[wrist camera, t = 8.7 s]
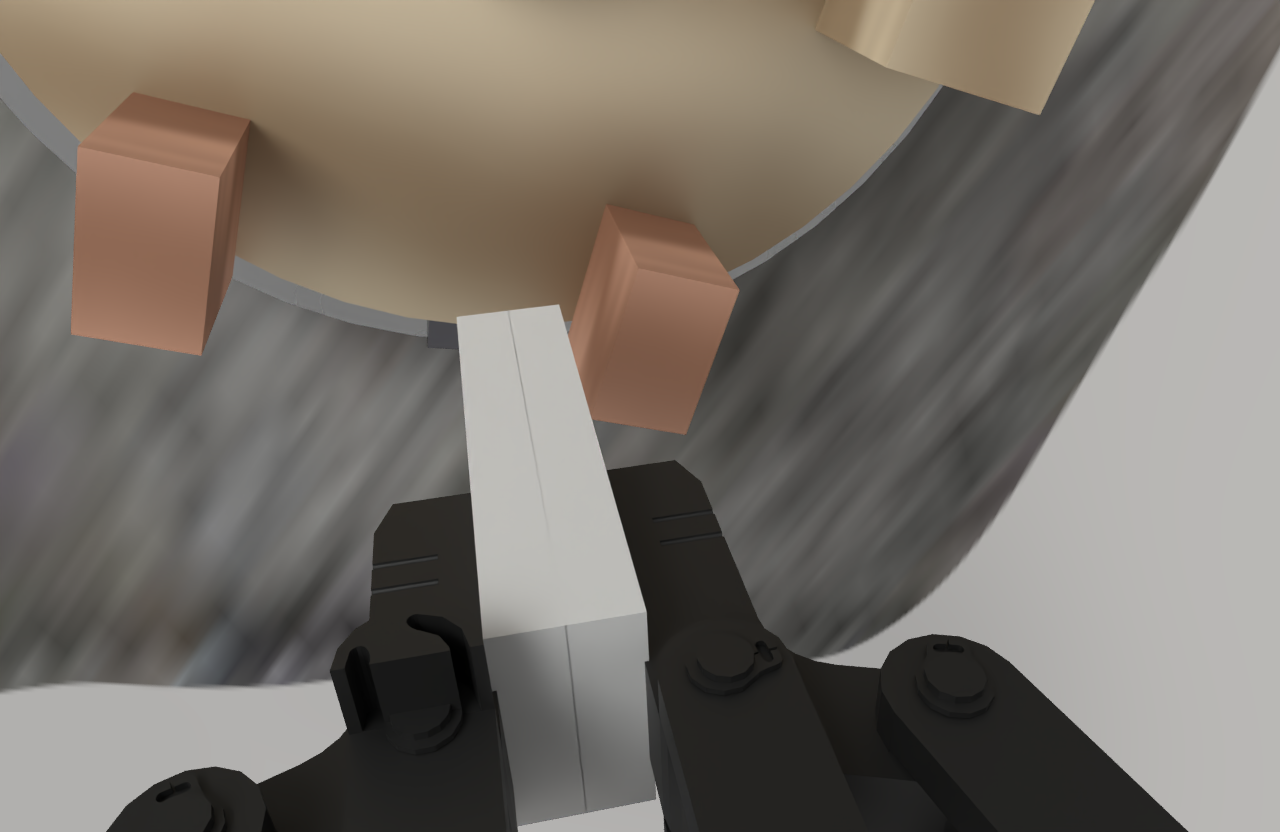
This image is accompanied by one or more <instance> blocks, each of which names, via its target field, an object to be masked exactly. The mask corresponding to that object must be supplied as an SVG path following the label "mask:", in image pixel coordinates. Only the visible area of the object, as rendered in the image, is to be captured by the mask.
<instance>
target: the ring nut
mask: <svg viewBox="0 0 1280 832" xmlns="http://www.w3.org/2000/svg"><path fill="white" fill-rule="evenodd" d="M1094 1H1095V0H0V53H1V55H2V56H3V57H4V58H5V60H6V61H7V62H8V63H9V65H10V66H11V67H12V68H13V70H14V71H15V72H16V73H17V75H18V76H19V77H20V78H21V80H22V81H23V82H24V83H25V85H26V86H27V87H28V88H29V90H30V91H31V92H32V93H33V95H34V96H35V97H36V98H37V99H38V100H39V101H40V102H41V103H42V104H43V105H44V106H45V107H46V108H47V109H48V110H49V111H50V112H51V113H52V114H53V115H54V116H55V117H56V118H57V119H58V120H59V121H60V122H61V123H62V124H63V125H64V126H65V127H66V128H67V129H68V130H69V131H70V132H71V133H72V134H73V135H74V136H75V137H76V138H77V139H78V140H79V141H80V142H81V144H79V145H78V148H77V176H76V204H75V232H74V260H73V288H72V316H71V334H72V335H79V336H85V337H91V338H97V339H103V340H109V341H115V342H121V343H128V344H134V345H140V346H146V347H152V348H158V349H164V350H170V351H177V352H183V353H189V354H195V355H202V352H203V350H204V347H205V345H206V342H207V340H208V337H209V335H210V332H211V330H212V327H213V325H214V322H215V319H216V317H217V314H218V312H219V309H220V307H221V304H222V302H223V299H224V297H225V294H226V291H227V289H228V286H229V284H230V281H231V279H232V276H233V268H234V260H235V255H236V256H238V257H240V258H241V259H243V260H245V261H247V262H249V263H251V264H253V265H255V266H257V267H259V268H261V269H263V270H265V271H267V272H269V273H271V274H273V275H275V276H277V277H279V278H281V279H284V280H286V281H289V282H292V283H295V284H297V285H300V286H303V287H305V288H308V289H311V290H313V291H316V292H319V293H321V294H324V295H327V296H330V297H332V298H335V299H338V300H340V301H343V302H346V303H350V304H355V305H359V306H363V307H367V308H371V309H375V310H379V311H383V312H387V313H391V314H395V315H399V316H403V317H408V318H416V319H424V320H431V321H439V322H447V323H455V324H457V317H460V316H468V315H476V314H484V313H492V312H501V311H509V310H517V309H525V308H534V307H542V306H550V305H558V304H559V306H560V310H561V313H562V317H563V320H564V322H567V321H572V323H571V326H570V330H569V333H568V338H569V341H570V345H571V348H572V352H573V355H574V359H575V362H576V366H577V369H578V373H579V376H580V380H581V383H582V387H583V390H584V394H585V397H586V401H587V404H588V408H589V411H590V415H591V418H592V419H593V420H599V421H605V422H611V423H617V424H623V425H629V426H635V427H642V428H648V429H654V430H660V431H666V432H672V433H678V434H684V435H686V433H687V431H688V428H689V425H690V422H691V420H692V417H693V414H694V412H695V409H696V406H697V404H698V401H699V398H700V396H701V393H702V390H703V387H704V385H705V382H706V379H707V377H708V374H709V371H710V369H711V366H712V363H713V361H714V358H715V355H716V352H717V350H718V347H719V344H720V342H721V339H722V336H723V334H724V331H725V328H726V326H727V323H728V320H729V317H730V315H731V312H732V309H733V307H734V304H735V301H736V299H737V296H738V293H739V291H740V290H739V288H738V287H737V286H736V284H735V283H734V281H733V280H732V278H731V277H730V275H729V274H728V273H727V272H729V271H731V270H733V269H735V268H737V267H739V266H741V265H743V264H745V263H747V262H749V261H751V260H753V259H755V258H756V257H758V256H759V255H761V254H762V253H764V252H765V251H767V250H769V249H770V248H772V247H773V246H775V245H776V244H778V243H779V242H781V241H782V240H784V239H785V238H787V237H789V236H790V235H792V234H793V233H795V232H796V231H798V230H799V229H801V228H802V227H804V226H805V225H806V224H807V223H809V222H810V221H811V220H812V219H813V218H815V217H816V216H817V215H818V214H820V213H821V212H822V211H823V210H824V209H826V208H827V207H828V206H829V205H830V204H832V203H833V202H834V201H835V200H837V199H838V198H839V197H840V196H841V195H843V194H844V193H845V192H846V191H847V190H849V189H850V188H851V187H852V186H853V185H854V184H855V183H856V182H857V181H858V180H859V179H860V178H861V177H862V176H863V175H864V174H865V173H866V172H867V171H868V170H869V169H870V168H871V167H872V166H873V164H874V163H875V162H876V161H877V160H878V159H879V158H880V157H881V156H882V155H883V154H884V153H885V152H886V151H887V150H888V149H889V148H890V147H891V146H892V145H893V144H894V143H895V142H896V141H897V139H898V138H899V137H900V136H901V134H902V133H903V132H904V130H905V129H906V128H907V127H908V125H909V124H910V123H911V122H912V120H913V119H914V118H915V116H916V115H917V114H918V113H919V111H920V110H921V109H922V108H923V106H924V105H925V104H926V102H927V101H928V100H929V99H930V97H931V96H932V95H933V94H934V92H935V91H936V90H937V88H938V87H939V85H940V84H941V85H944V86H947V87H950V88H954V89H957V90H960V91H963V92H967V93H970V94H973V95H976V96H979V97H983V98H986V99H989V100H992V101H996V102H999V103H1002V104H1005V105H1008V106H1012V107H1015V108H1018V109H1021V110H1024V111H1028V112H1031V113H1034V114H1037V115H1040V114H1041V112H1042V110H1043V108H1044V106H1045V103H1046V101H1047V99H1048V97H1049V95H1050V93H1051V91H1052V89H1053V87H1054V85H1055V83H1056V81H1057V79H1058V76H1059V74H1060V72H1061V70H1062V68H1063V66H1064V64H1065V62H1066V60H1067V58H1068V56H1069V54H1070V51H1071V49H1072V47H1073V45H1074V43H1075V41H1076V39H1077V37H1078V35H1079V33H1080V31H1081V29H1082V26H1083V24H1084V22H1085V20H1086V18H1087V16H1088V14H1089V12H1090V10H1091V8H1092V6H1093V4H1094Z"/></svg>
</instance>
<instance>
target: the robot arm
mask: <svg viewBox="0 0 1280 832" xmlns="http://www.w3.org/2000/svg"><path fill="white" fill-rule="evenodd" d="M457 329H458V341H459V353H460V365H461V377H462V390H463V402H464V414H465V426H466V439H467V451H468V463H469V475H470V487H471V493H467V494H460V495H453V496H447V497H440V498H433V499H426V500H419V501H412V502H406V503H399V504H393V505H392V507H391V508H390V510H389V511H388V513H387V514H386V516H385V517H384V519H383V521H382V522H381V524H380V525H379V527H378V528H377V530H376V531H375V533H374V545H373V570H372V582H371V591H372V595H371V601H370V619H369V621H368V622H366V623H364V624H363V625H361V626H359V627H358V628H356V629H355V630H354V631H353V632H352V633H351V634H350V636H349V637H348V638H347V639H346V640H345V641H344V642H343V643H342V644H341V646H340V647H339V648H338V649H337V652H336V655H335V658H334V660H333V663H332V666H331V669H330V673H331V677H332V680H333V683H334V687H335V690H336V693H337V696H338V700H339V703H340V707H341V710H342V713H343V717H344V719H345V723H346V726H347V730H346V731H345V732H344V733H343V735H342V736H341V737H340V738H339V739H338V740H336V741H335V742H334V743H333V744H332V745H330V746H329V747H328V748H327V749H325V750H324V751H323V752H322V753H320V754H318V755H316V756H315V757H313V758H311V759H309V760H307V761H306V762H304V763H302V764H300V765H298V766H296V767H294V768H292V769H289V770H287V771H285V772H283V773H281V774H279V775H276V776H274V777H272V778H270V779H268V780H265V781H263V782H261V783H259V784H256V783H254V782H253V781H252V780H251V779H249V778H248V777H247V776H246V775H244V774H243V773H242V772H240V771H235V770H230V769H225V768H220V767H209V768H202V769H196V770H188V771H184V772H182V773H179V774H177V775H175V776H173V777H170V778H168V779H166V780H163V781H161V782H159V783H157V784H154V785H153V786H152V787H151V788H149V789H148V790H146V791H145V792H144V793H142V794H141V795H140V796H138V797H137V798H136V799H135V800H133V801H132V802H131V803H129V804H128V805H127V806H126V807H125V808H124V809H123V811H122V812H121V814H120V815H119V816H118V817H117V818H116V820H115V821H114V822H113V824H112V825H111V826H110V827H109V829H108V830H107V831H106V832H518V829H517V826H522V825H526V824H532V823H537V822H542V821H547V820H552V819H557V818H562V817H568V816H573V815H578V814H582V813H588V812H593V811H598V810H604V809H609V808H614V807H619V806H624V805H629V804H634V803H640V802H644V801H650V800H655V799H656V790H655V782H656V786H657V790H658V794H659V798H660V802H661V806H662V810H663V814H664V832H1188V831H1187V830H1186V829H1185V828H1184V827H1183V826H1182V825H1181V824H1180V823H1178V822H1177V821H1176V820H1175V819H1174V818H1173V817H1172V816H1171V815H1170V814H1169V813H1168V812H1167V811H1166V810H1165V809H1163V807H1162V806H1160V805H1159V804H1158V803H1157V802H1156V801H1155V800H1154V799H1153V798H1152V797H1151V796H1150V795H1149V794H1148V793H1147V792H1146V791H1145V790H1144V789H1143V788H1142V787H1141V786H1140V785H1138V784H1137V783H1136V782H1135V781H1134V780H1133V779H1132V778H1131V777H1130V776H1129V775H1128V774H1127V773H1126V772H1125V771H1124V770H1123V769H1122V768H1120V767H1119V766H1118V765H1117V764H1116V763H1115V762H1114V761H1113V760H1112V759H1111V758H1110V757H1109V756H1108V755H1107V754H1106V753H1105V752H1104V751H1103V750H1102V749H1101V748H1099V747H1098V746H1097V745H1096V744H1095V743H1094V742H1093V741H1092V740H1091V739H1090V738H1089V737H1088V736H1087V735H1086V734H1085V733H1084V732H1083V731H1082V730H1081V729H1079V728H1078V727H1077V726H1076V725H1075V724H1074V723H1073V722H1072V721H1071V720H1070V719H1069V718H1068V717H1067V716H1066V715H1065V714H1064V713H1063V712H1062V711H1060V710H1059V709H1058V708H1057V707H1056V706H1055V705H1054V704H1053V703H1052V702H1051V701H1050V700H1049V699H1048V698H1047V697H1046V696H1045V695H1044V694H1043V693H1042V692H1041V691H1039V690H1038V689H1037V688H1036V687H1035V686H1034V685H1033V684H1032V683H1031V682H1030V681H1029V680H1028V679H1027V678H1026V677H1025V676H1023V674H1022V673H1020V672H1019V671H1018V670H1017V669H1016V668H1015V667H1014V666H1013V665H1012V664H1011V663H1010V662H1009V661H1007V660H1006V659H1004V658H1003V657H1002V656H1000V655H999V654H997V653H995V652H994V651H993V650H991V649H990V648H989V647H987V646H985V645H982V644H979V643H977V642H974V641H971V640H968V639H965V638H963V637H959V636H947V635H936V634H935V635H934V634H931V635H927V636H922V637H918V638H913V639H908V640H907V641H905V642H904V643H902V644H901V645H900V646H898V647H896V648H895V649H893V650H892V651H890V652H889V655H888V656H887V658H886V660H885V662H884V664H883V666H882V668H881V669H877V668H866V667H855V666H843V665H834V664H829V663H823V662H817V661H813V660H811V659H808V658H805V657H803V656H800V655H797V654H795V653H793V652H792V651H790V650H788V649H787V648H786V647H785V645H784V644H783V643H782V641H781V640H780V639H779V637H777V636H776V635H774V634H772V633H771V632H769V631H768V630H766V629H764V627H763V625H762V624H761V622H760V621H759V619H758V617H757V614H756V612H755V610H754V607H753V605H752V603H751V600H750V598H749V595H748V593H747V591H746V588H745V586H744V583H743V581H742V579H741V576H740V574H739V571H738V569H737V567H736V564H735V562H734V560H733V557H732V555H731V552H730V550H729V548H728V545H727V543H726V540H725V538H724V537H722V531H721V528H720V526H719V524H718V521H717V519H716V516H715V514H713V511H712V507H711V505H710V502H709V500H708V497H707V495H706V493H705V490H704V488H703V485H702V483H701V481H700V480H698V479H697V478H696V477H695V476H693V475H692V474H691V473H690V472H689V471H687V470H686V469H685V468H684V467H683V466H681V465H680V464H679V463H678V462H677V461H675V460H674V461H667V462H660V463H653V464H646V465H639V466H633V467H626V468H619V469H612V470H606V468H605V464H604V461H603V457H602V453H601V450H600V446H599V443H598V439H597V436H596V432H595V429H594V425H593V422H592V418H591V415H590V411H589V408H588V404H587V401H586V397H585V394H584V390H583V387H582V383H581V380H580V376H579V373H578V369H577V366H576V362H575V359H574V355H573V352H572V348H571V345H570V341H569V338H568V334H567V331H566V327H565V324H564V320H563V317H562V313H561V310H560V306H559V304H558V305H550V306H542V307H534V308H525V309H517V310H509V311H501V312H492V313H484V314H476V315H468V316H460V317H457Z"/></svg>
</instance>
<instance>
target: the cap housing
mask: <svg viewBox="0 0 1280 832" xmlns="http://www.w3.org/2000/svg"><path fill="white" fill-rule="evenodd" d="M942 87H943V85H941V84H940V85H939V87H938V88H937V90H936V91H935V92H934V94H933V95H932V96H931V97H930V99H929V100H928V101H927V102H926V104H925V105H924V106H923V108H922V109H921V110H920V111H919V113H918V114H917V115H916V116H915V118H914V119H913V120H912V122H911V123H910V124H909V125H908V127H907V128H906V129H905V130H904V132H903V133H902V134H901V136H900V137H899V138H898V139H897V141H896V142H895V143H894V144H893V145H892V146H891V147H890V148H889V149H888V150H887V151H886V152H885V153H884V154H883V155H882V156H881V157H880V158H879V159H878V160H877V161H876V162H875V163H874V164H873V166H872V167H871V168H870V169H869V170H868V171H867V172H866V173H865V174H864V175H863V176H862V177H861V178H860V179H859V180H858V181H857V182H856V183H855V184H854V185H853V186H852V187H851V188H850V189H849V190H847V191H846V192H845V193H844V194H843V195H841V196H840V197H839V198H838V199H837V200H835V201H834V202H833V203H832V204H830V205H829V206H828V207H827V208H826V209H824V210H823V211H822V212H821V213H820V214H818V215H817V216H816V217H815V218H813V219H812V220H811V221H810V222H809V223H807V224H806V225H805V226H804V227H802V228H801V229H799V230H798V231H796V232H795V233H793V234H792V235H790V236H789V237H787V238H785V239H784V240H782V241H781V242H779V243H778V244H776V245H775V246H773V247H772V248H770V249H769V250H767V251H765V252H764V253H762V254H761V255H759V256H758V257H756V258H755V259H753V260H751V261H749V262H747V263H745V264H743V265H741V266H739V267H737V268H735V269H733V270H731V271H729V272H727V273H728V274H729V275H730V277H731V278H732V280H733V279H735V278H737V277H738V276H740V275H742V274H744V273H746V272H747V271H749V270H751V269H753V268H755V267H757V266H758V265H760V264H762V263H764V262H766V261H767V260H768V259H770V258H771V257H773V256H774V255H775V254H777V253H778V252H780V251H781V250H783V249H784V248H785V247H787V246H788V245H790V244H791V243H792V242H794V241H795V240H797V239H798V238H799V237H801V236H802V235H804V234H805V233H807V232H808V231H809V230H811V229H812V228H814V227H815V226H816V225H817V224H819V223H820V222H821V221H822V220H823V219H824V218H825V217H826V216H828V215H829V214H830V213H831V212H832V211H833V210H834V209H835V208H837V207H838V206H839V205H840V204H841V203H842V202H843V201H844V200H846V199H847V198H848V197H849V196H850V195H851V194H852V193H853V192H854V191H856V190H857V189H858V188H859V187H860V186H861V185H862V184H863V183H864V182H865V181H866V180H867V179H868V178H869V177H870V176H871V175H872V174H873V172H874V171H875V170H876V169H877V168H878V167H879V166H880V165H881V164H882V162H883V161H884V160H885V159H886V158H887V157H888V156H889V155H890V154H891V152H892V151H893V150H894V149H895V148H896V147H897V146H898V145H899V144H900V143H901V141H902V140H903V139H904V138H905V137H906V136H907V135H908V133H909V132H910V131H911V129H912V128H913V127H914V125H915V124H916V122H917V121H918V120H919V118H920V117H921V116H922V114H923V113H924V111H925V110H926V109H927V107H928V106H929V105H930V103H931V102H932V100H933V99H934V98H935V96H936V95H937V94H938V92H939V91H940V89H941V88H942ZM0 98H1V99H2V100H3V102H4V103H5V104H6V105H7V106H8V107H9V108H10V109H11V111H12V112H13V113H14V114H15V115H16V116H17V117H18V118H19V120H20V121H21V122H22V123H23V124H24V125H25V126H26V127H27V129H28V130H29V131H30V132H31V133H32V134H33V135H34V136H36V137H37V138H38V139H39V140H40V141H41V142H42V143H43V144H44V145H45V146H47V147H48V148H49V149H50V150H51V151H52V152H53V153H54V154H55V155H56V156H57V157H59V158H60V159H61V160H62V161H63V162H64V163H65V164H66V165H67V166H68V167H70V168H71V169H72V170H73V171H74V172H75V173H76V174H77V148H78V145H79V144H81V142H80V141H79V140H78V139H77V138H76V137H75V136H74V135H73V134H72V133H71V132H70V131H69V130H68V129H67V128H66V127H65V126H64V125H63V124H62V123H61V122H60V121H59V120H58V119H57V118H56V117H55V116H54V115H53V114H52V113H51V112H50V111H49V110H48V109H47V108H46V107H45V106H44V105H43V104H42V103H41V102H40V101H39V100H38V99H37V98H36V97H35V96H34V95H33V93H32V92H31V91H30V90H29V88H28V87H27V86H26V85H25V83H24V82H23V81H22V80H21V78H20V77H19V76H18V75H17V73H16V72H15V71H14V70H13V68H12V67H11V66H10V65H9V63H8V62H7V61H6V60H5V58H4V57H3V56H2V55H1V53H0ZM232 279H235V280H237V281H239V282H241V283H244V284H246V285H248V286H250V287H252V288H255V289H257V290H259V291H261V292H264V293H266V294H268V295H270V296H273V297H275V298H277V299H279V300H282V301H284V302H286V303H289V304H292V305H295V306H298V307H302V308H305V309H308V310H311V311H314V312H317V313H320V314H324V315H327V316H330V317H333V318H336V319H339V320H342V321H346V322H349V323H352V324H357V325H362V326H367V327H372V328H377V329H382V330H387V331H393V332H398V333H403V334H408V335H413V336H421V337H427V345H428V348H445V349H459V341H458V329H457V324H455V323H447V322H439V321H431V320H424V319H416V318H408V317H403V316H399V315H395V314H391V313H387V312H383V311H379V310H375V309H371V308H367V307H363V306H359V305H355V304H350V303H346V302H343V301H340V300H338V299H335V298H332V297H330V296H327V295H324V294H321V293H319V292H316V291H313V290H311V289H308V288H305V287H303V286H300V285H297V284H295V283H292V282H289V281H286V280H284V279H281V278H279V277H277V276H275V275H273V274H271V273H269V272H267V271H265V270H263V269H261V268H259V267H257V266H255V265H253V264H251V263H249V262H247V261H245V260H243V259H241V258H240V257H238V256H236V255H235V260H234V268H233V276H232ZM571 323H572V321H567V322H564V324H565V327H566V331H567V334H568V333H569V330H570V326H571Z"/></svg>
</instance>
